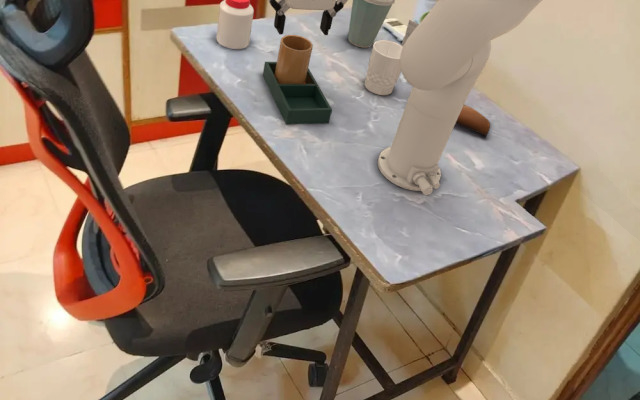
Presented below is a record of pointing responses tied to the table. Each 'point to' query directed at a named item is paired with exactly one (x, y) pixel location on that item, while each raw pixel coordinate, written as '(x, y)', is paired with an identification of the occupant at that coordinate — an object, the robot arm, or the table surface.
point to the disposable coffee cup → (367, 20)
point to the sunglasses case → (473, 120)
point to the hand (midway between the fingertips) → (301, 31)
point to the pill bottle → (234, 23)
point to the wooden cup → (293, 60)
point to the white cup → (383, 67)
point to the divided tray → (298, 99)
